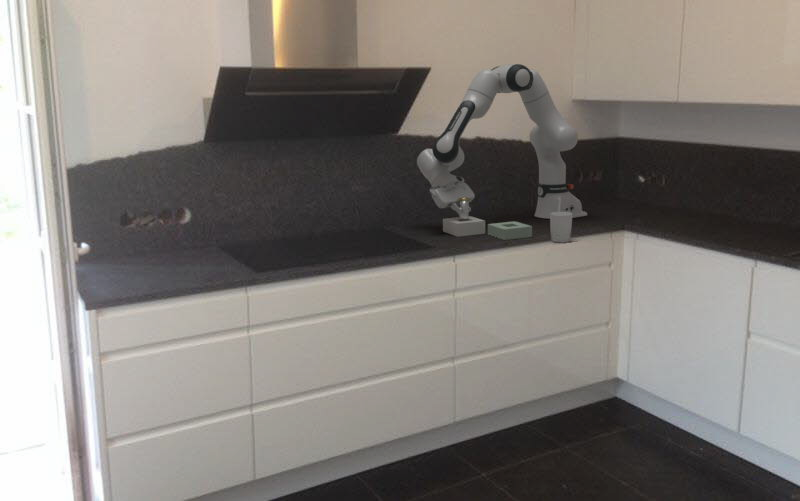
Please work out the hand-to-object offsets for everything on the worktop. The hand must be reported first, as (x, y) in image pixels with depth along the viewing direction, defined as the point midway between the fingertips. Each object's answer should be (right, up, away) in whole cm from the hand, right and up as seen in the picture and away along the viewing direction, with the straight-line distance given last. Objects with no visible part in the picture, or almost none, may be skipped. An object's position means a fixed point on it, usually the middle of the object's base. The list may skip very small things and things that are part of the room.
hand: (465, 212), depth 286 cm
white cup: (+33, -11, -17) cm, 39 cm away
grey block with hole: (0, -8, +2) cm, 8 cm away
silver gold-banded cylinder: (0, -6, +2) cm, 7 cm away
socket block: (+16, -9, -6) cm, 20 cm away
